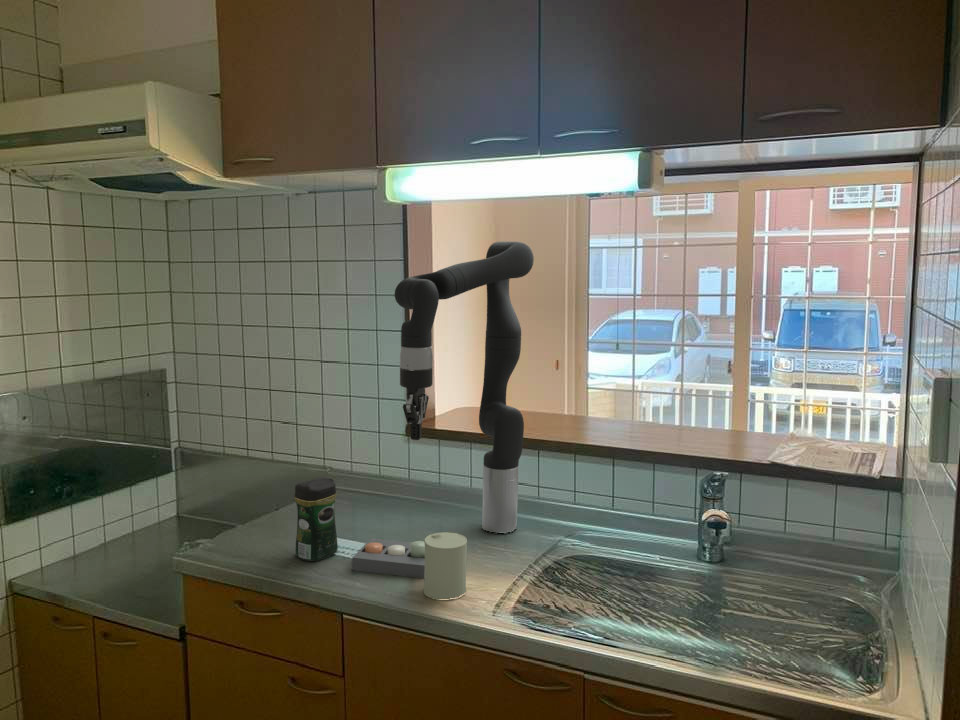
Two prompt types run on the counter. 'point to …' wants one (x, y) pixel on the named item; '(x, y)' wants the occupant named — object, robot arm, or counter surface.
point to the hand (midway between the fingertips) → (416, 439)
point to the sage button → (417, 549)
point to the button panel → (389, 561)
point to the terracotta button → (374, 548)
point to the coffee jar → (316, 519)
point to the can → (445, 565)
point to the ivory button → (396, 550)
